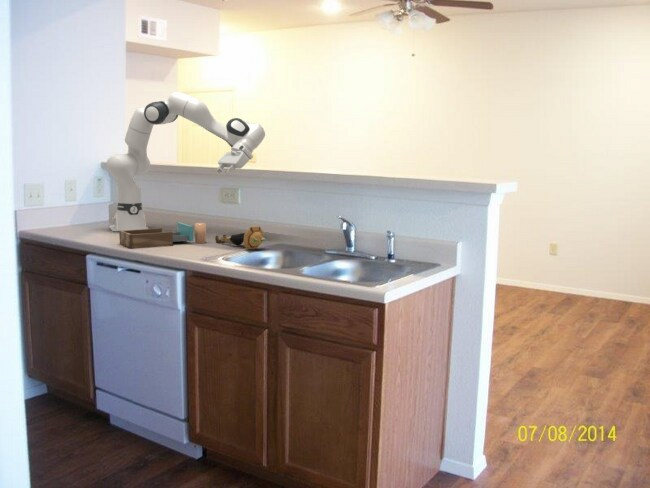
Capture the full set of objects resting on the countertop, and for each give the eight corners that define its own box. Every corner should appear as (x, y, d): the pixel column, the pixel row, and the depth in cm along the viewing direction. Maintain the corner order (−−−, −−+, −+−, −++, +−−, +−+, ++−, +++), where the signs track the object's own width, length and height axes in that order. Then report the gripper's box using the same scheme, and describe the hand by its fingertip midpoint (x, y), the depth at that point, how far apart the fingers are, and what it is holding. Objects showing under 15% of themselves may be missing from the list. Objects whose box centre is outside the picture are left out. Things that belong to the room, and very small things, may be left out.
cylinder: (193, 242, 289) (193, 223, 287) (203, 241, 292) (203, 222, 290) (197, 243, 285) (197, 224, 283) (207, 243, 288) (207, 223, 286)
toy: (235, 227, 297) (275, 224, 275) (236, 248, 297) (277, 247, 276) (203, 230, 284) (243, 227, 263) (205, 252, 285) (245, 251, 263)
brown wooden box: (119, 244, 278) (119, 230, 277) (161, 241, 289) (160, 228, 288) (130, 248, 267) (129, 234, 266) (172, 245, 278) (172, 232, 277)
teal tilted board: (140, 239, 284) (139, 224, 283) (179, 236, 295) (179, 222, 294) (152, 244, 272) (151, 228, 271) (193, 241, 283) (192, 226, 282)
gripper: (226, 146, 302) (208, 167, 298) (246, 147, 286) (227, 168, 282) (234, 156, 306) (216, 176, 302) (255, 157, 289) (236, 178, 285)
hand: (222, 172), depth 292 cm, fingers open, 8 cm apart
